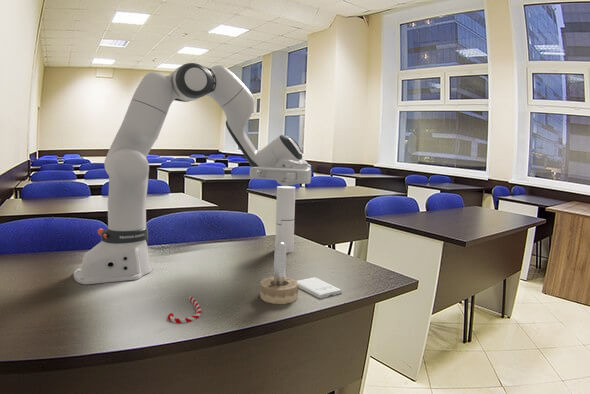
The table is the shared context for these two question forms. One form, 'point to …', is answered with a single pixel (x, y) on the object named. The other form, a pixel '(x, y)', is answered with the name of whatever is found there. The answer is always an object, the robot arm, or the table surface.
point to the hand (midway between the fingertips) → (271, 175)
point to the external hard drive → (318, 287)
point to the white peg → (280, 264)
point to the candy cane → (189, 319)
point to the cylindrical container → (285, 216)
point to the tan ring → (279, 291)
